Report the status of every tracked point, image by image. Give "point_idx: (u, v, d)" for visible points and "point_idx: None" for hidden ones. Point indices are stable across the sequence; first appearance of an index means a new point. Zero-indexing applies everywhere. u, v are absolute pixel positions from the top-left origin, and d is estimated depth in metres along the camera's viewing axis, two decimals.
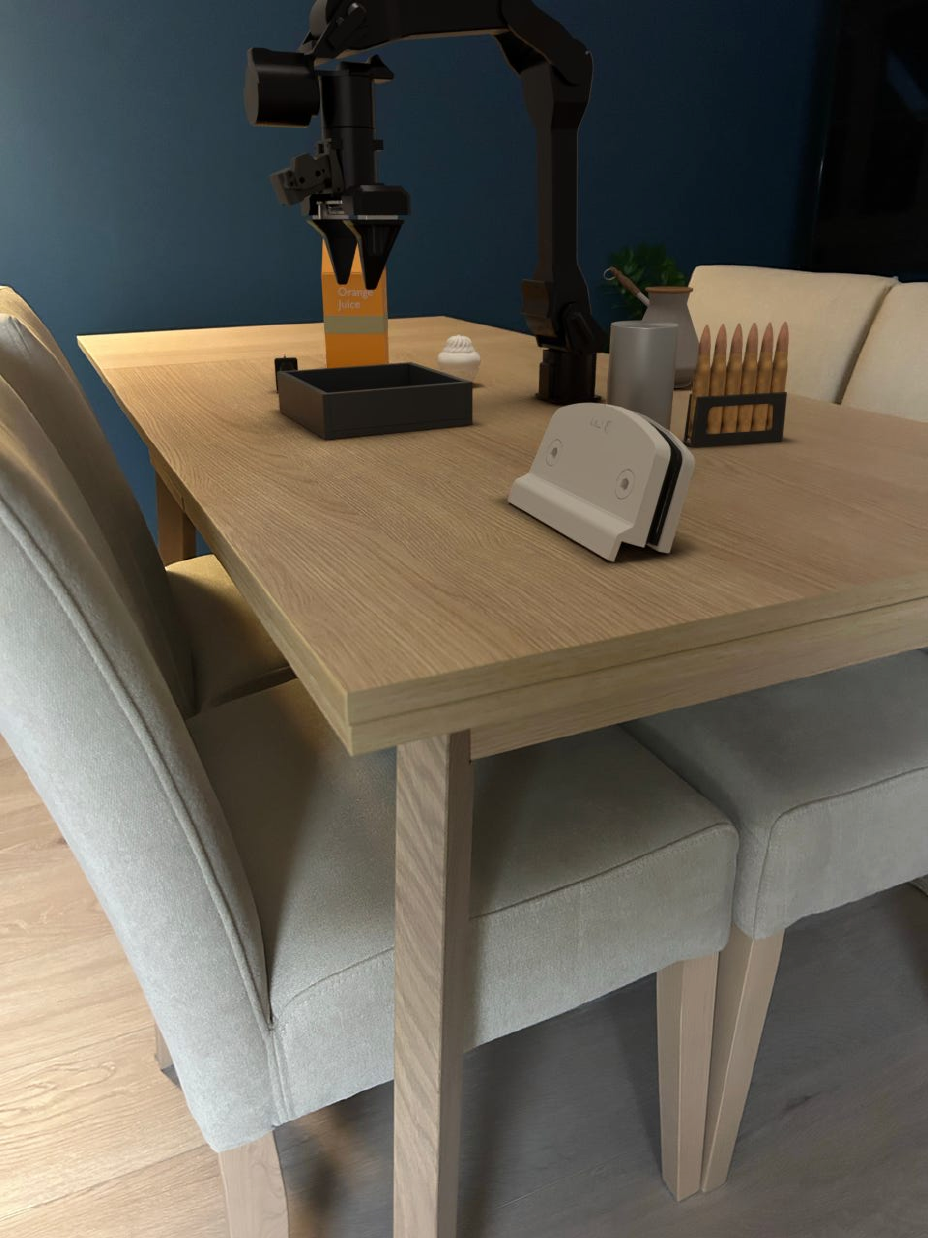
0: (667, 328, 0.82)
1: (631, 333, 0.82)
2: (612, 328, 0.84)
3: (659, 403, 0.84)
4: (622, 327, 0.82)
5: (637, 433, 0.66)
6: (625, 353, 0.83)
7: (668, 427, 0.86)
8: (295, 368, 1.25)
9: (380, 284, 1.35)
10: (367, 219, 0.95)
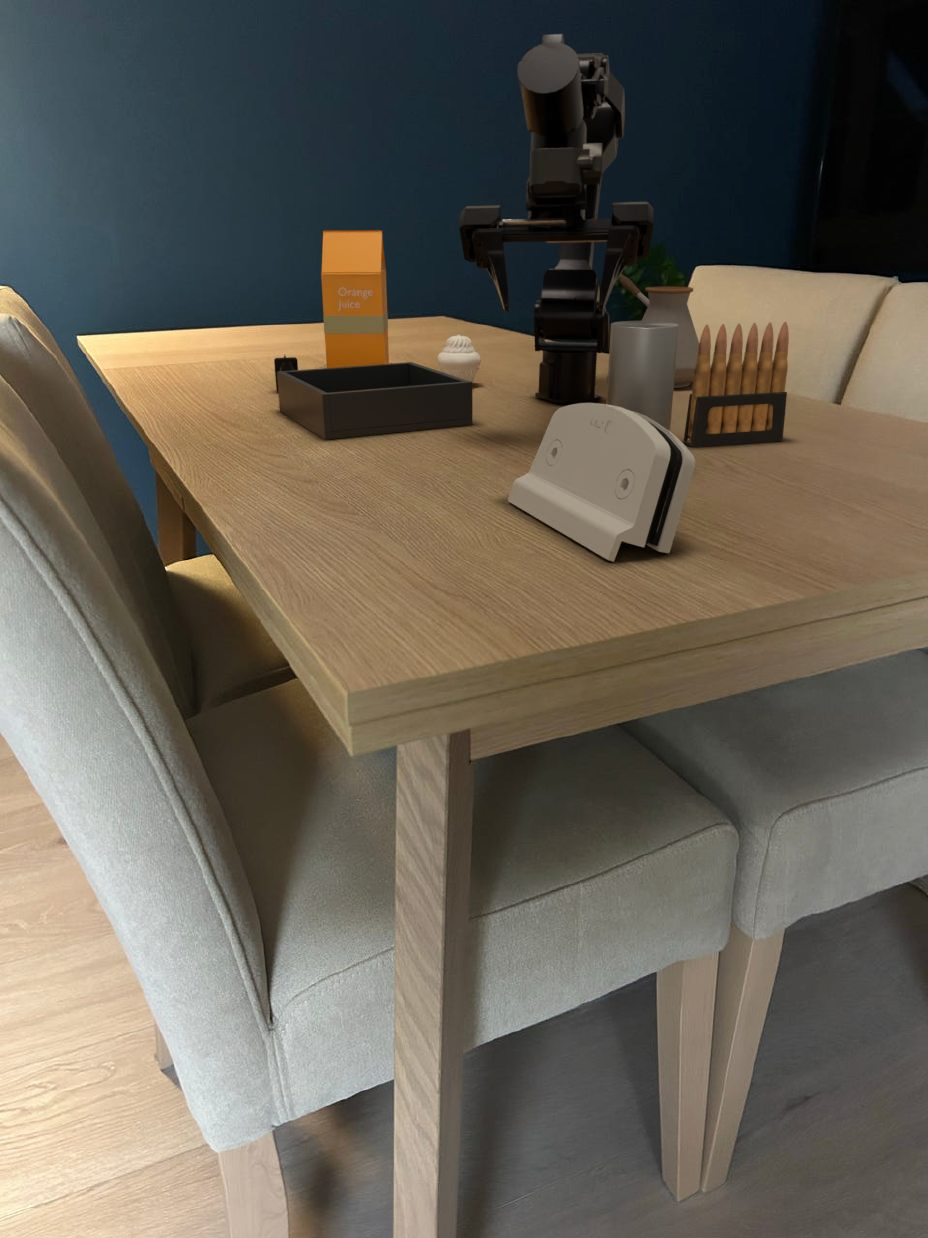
0: (667, 328, 0.82)
1: (631, 333, 0.82)
2: (612, 328, 0.84)
3: (659, 403, 0.84)
4: (622, 327, 0.82)
5: (637, 433, 0.66)
6: (625, 353, 0.83)
7: (668, 427, 0.86)
8: (295, 368, 1.25)
9: (380, 284, 1.35)
10: None
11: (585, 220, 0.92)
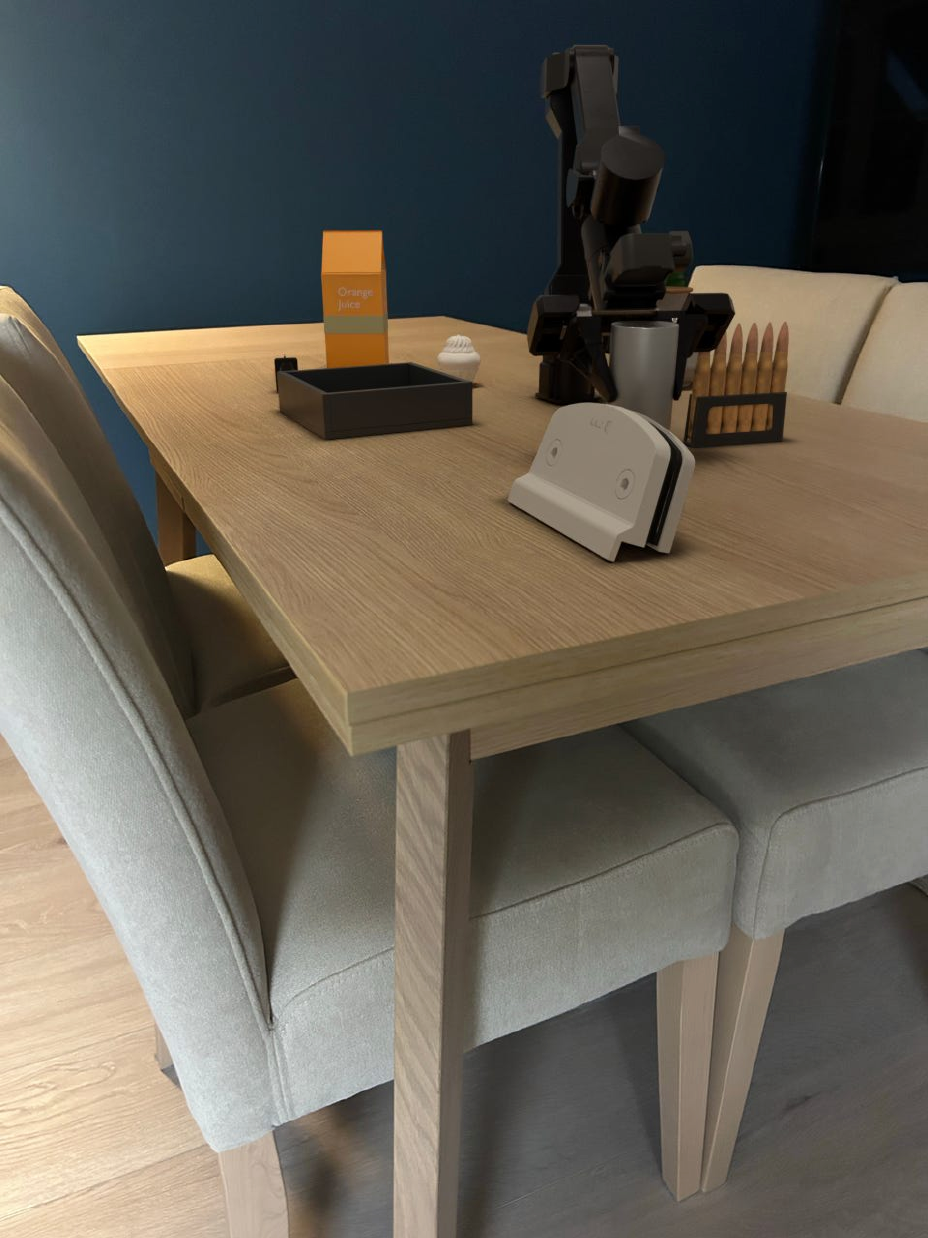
0: (667, 328, 0.82)
1: (631, 333, 0.82)
2: (612, 328, 0.84)
3: (659, 403, 0.84)
4: (622, 327, 0.82)
5: (637, 433, 0.66)
6: (625, 353, 0.83)
7: (668, 427, 0.86)
8: (295, 368, 1.25)
9: (380, 284, 1.35)
10: None
11: (658, 311, 0.89)
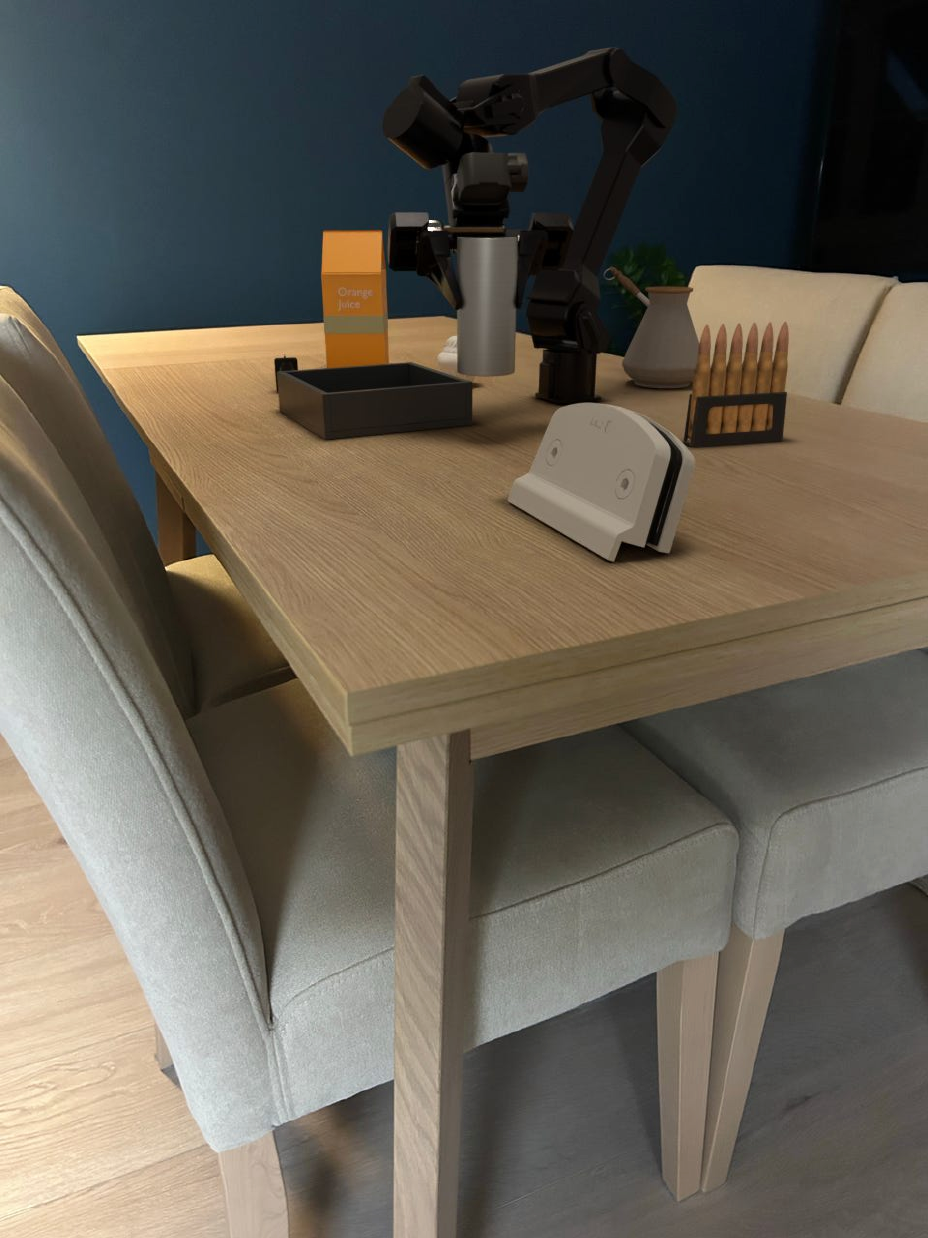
0: (504, 239, 0.90)
1: (472, 243, 0.90)
2: (457, 241, 0.92)
3: (501, 309, 0.93)
4: (464, 238, 0.91)
5: (637, 433, 0.66)
6: (468, 263, 0.91)
7: (512, 333, 0.95)
8: (295, 368, 1.25)
9: (380, 284, 1.35)
10: None
11: (506, 230, 0.97)
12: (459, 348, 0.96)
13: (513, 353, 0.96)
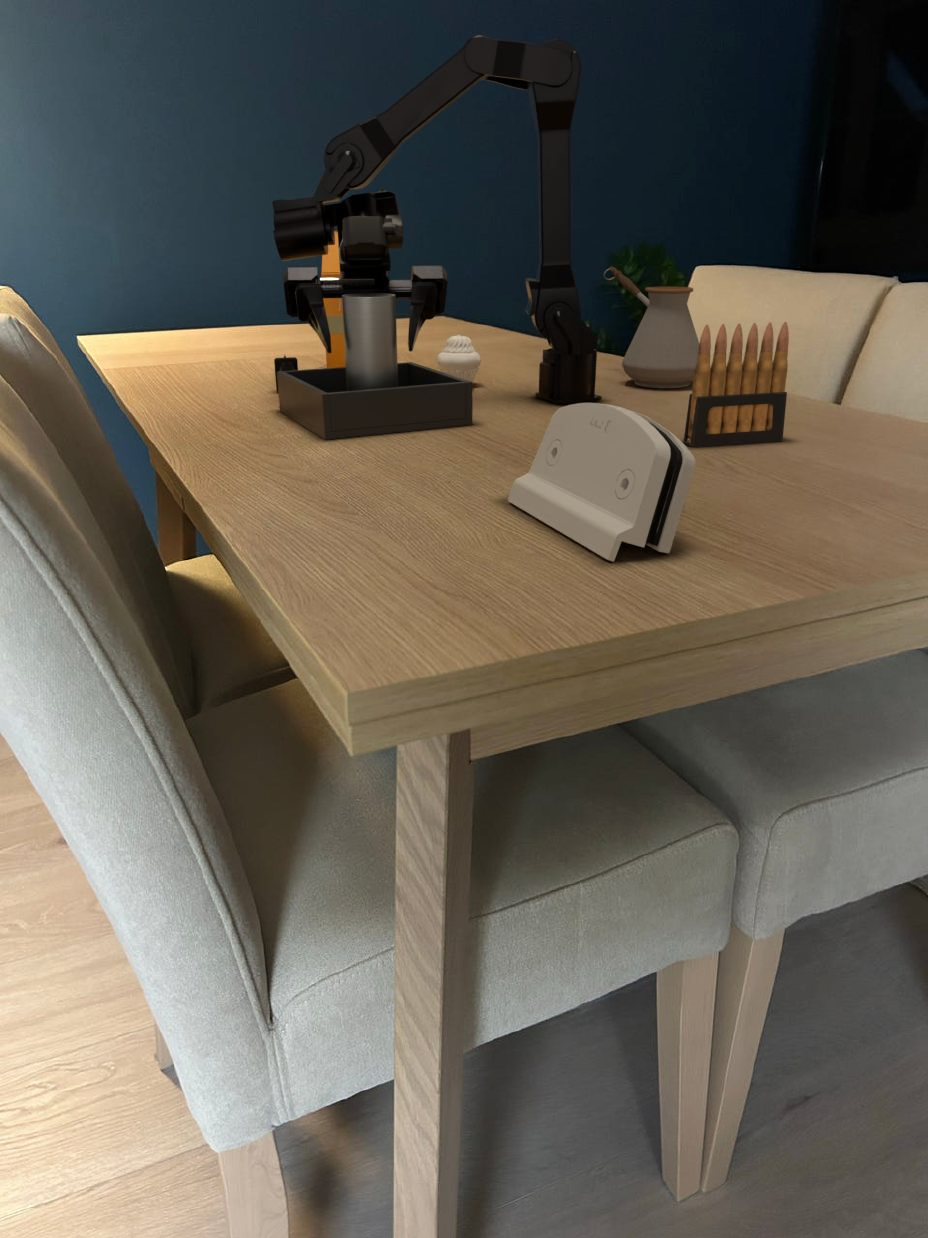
0: (380, 297, 1.03)
1: (352, 301, 1.03)
2: (342, 298, 1.05)
3: (380, 358, 1.05)
4: (346, 297, 1.04)
5: (637, 433, 0.66)
6: (350, 318, 1.04)
7: (393, 378, 1.07)
8: (295, 368, 1.25)
9: None
10: None
11: (390, 280, 1.10)
12: None
13: None
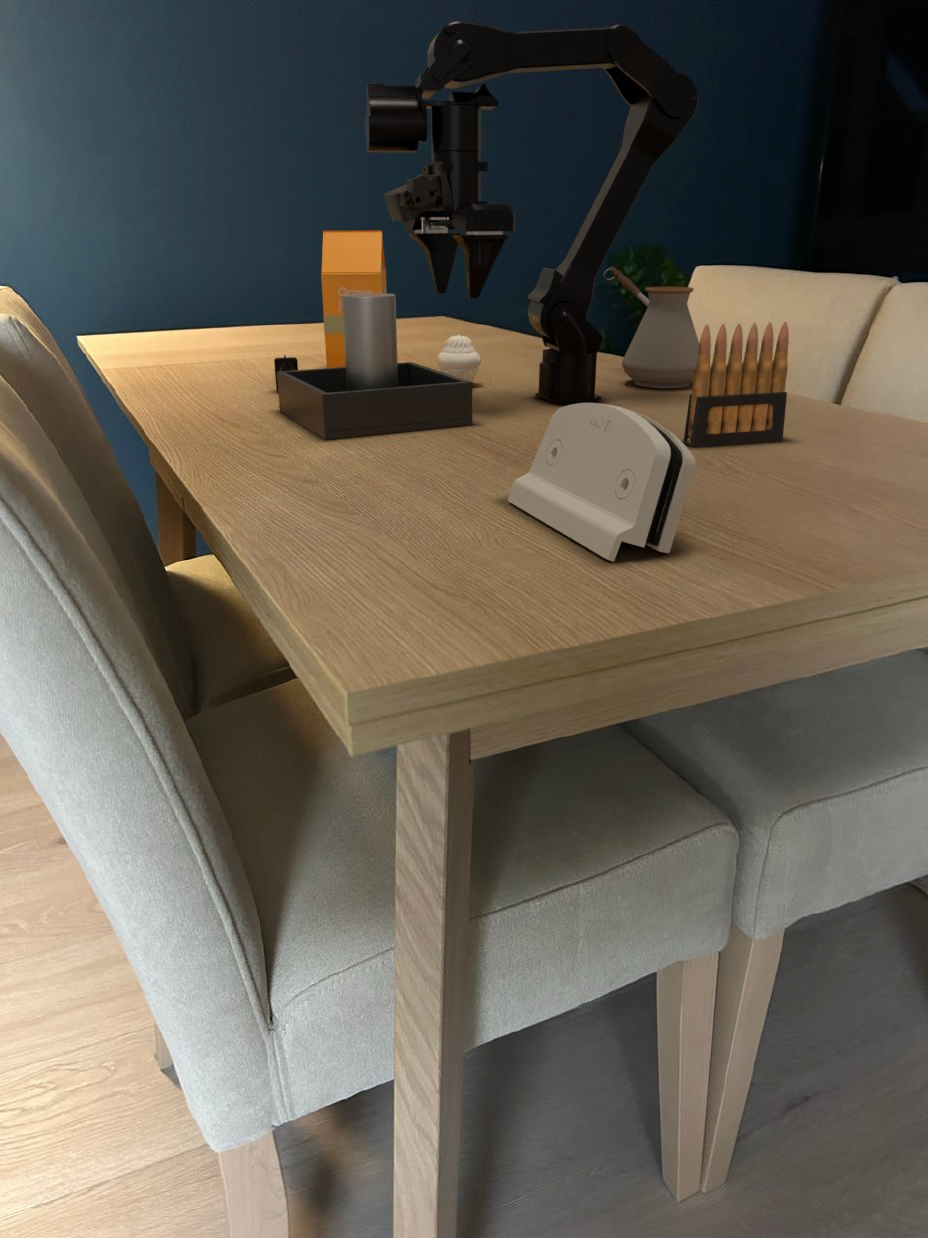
0: (380, 297, 1.03)
1: (352, 301, 1.03)
2: (342, 298, 1.05)
3: (380, 358, 1.05)
4: (346, 297, 1.04)
5: (637, 433, 0.66)
6: (350, 318, 1.04)
7: (393, 378, 1.07)
8: (295, 368, 1.25)
9: (380, 284, 1.35)
10: (476, 234, 1.04)
11: None
12: None
13: None
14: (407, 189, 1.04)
